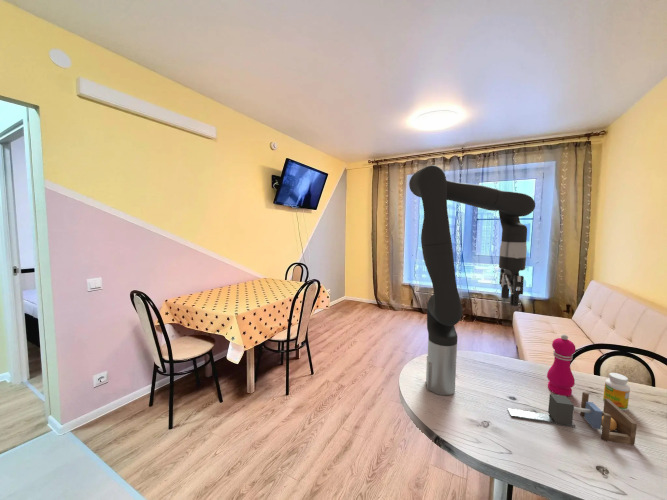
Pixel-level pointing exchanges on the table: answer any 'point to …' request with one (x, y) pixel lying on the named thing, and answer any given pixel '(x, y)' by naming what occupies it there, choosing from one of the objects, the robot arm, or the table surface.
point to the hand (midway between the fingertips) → (509, 301)
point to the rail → (535, 417)
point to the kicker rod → (564, 409)
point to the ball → (613, 424)
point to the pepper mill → (561, 367)
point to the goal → (624, 422)
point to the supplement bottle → (617, 390)
